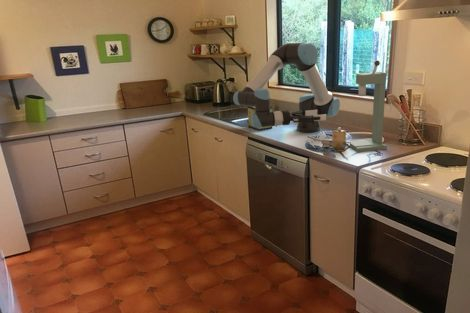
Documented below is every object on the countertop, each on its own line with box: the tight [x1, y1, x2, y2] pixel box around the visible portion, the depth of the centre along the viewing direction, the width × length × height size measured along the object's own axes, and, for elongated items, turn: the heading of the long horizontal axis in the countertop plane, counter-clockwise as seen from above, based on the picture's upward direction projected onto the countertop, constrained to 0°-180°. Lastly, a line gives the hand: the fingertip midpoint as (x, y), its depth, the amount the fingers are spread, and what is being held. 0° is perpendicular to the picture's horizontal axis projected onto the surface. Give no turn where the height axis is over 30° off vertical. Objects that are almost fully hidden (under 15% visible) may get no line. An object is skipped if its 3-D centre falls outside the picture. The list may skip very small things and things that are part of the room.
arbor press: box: [349, 60, 388, 153], centre depth 194 cm, size 16×16×46 cm
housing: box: [331, 127, 347, 152], centre depth 198 cm, size 7×7×12 cm
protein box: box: [247, 105, 273, 132], centre depth 255 cm, size 10×16×16 cm
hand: (321, 114), depth 193 cm, fingers open, 13 cm apart
